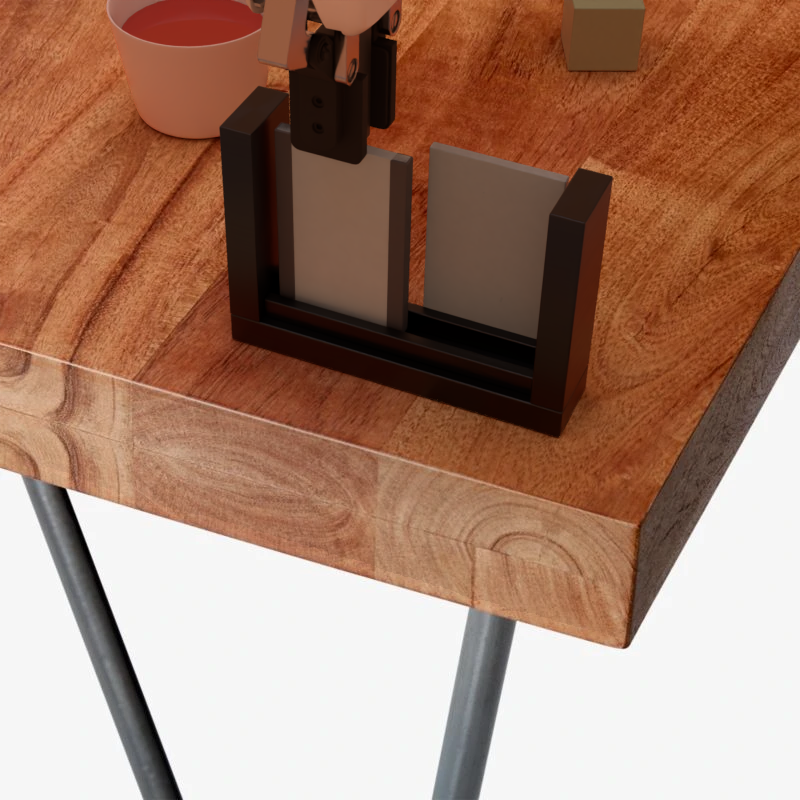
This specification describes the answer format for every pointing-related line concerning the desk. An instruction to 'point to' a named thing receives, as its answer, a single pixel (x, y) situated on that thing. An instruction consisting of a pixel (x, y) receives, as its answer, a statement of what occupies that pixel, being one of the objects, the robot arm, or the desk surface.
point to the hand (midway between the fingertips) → (343, 133)
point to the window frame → (438, 279)
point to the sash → (345, 225)
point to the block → (602, 34)
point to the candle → (188, 60)
